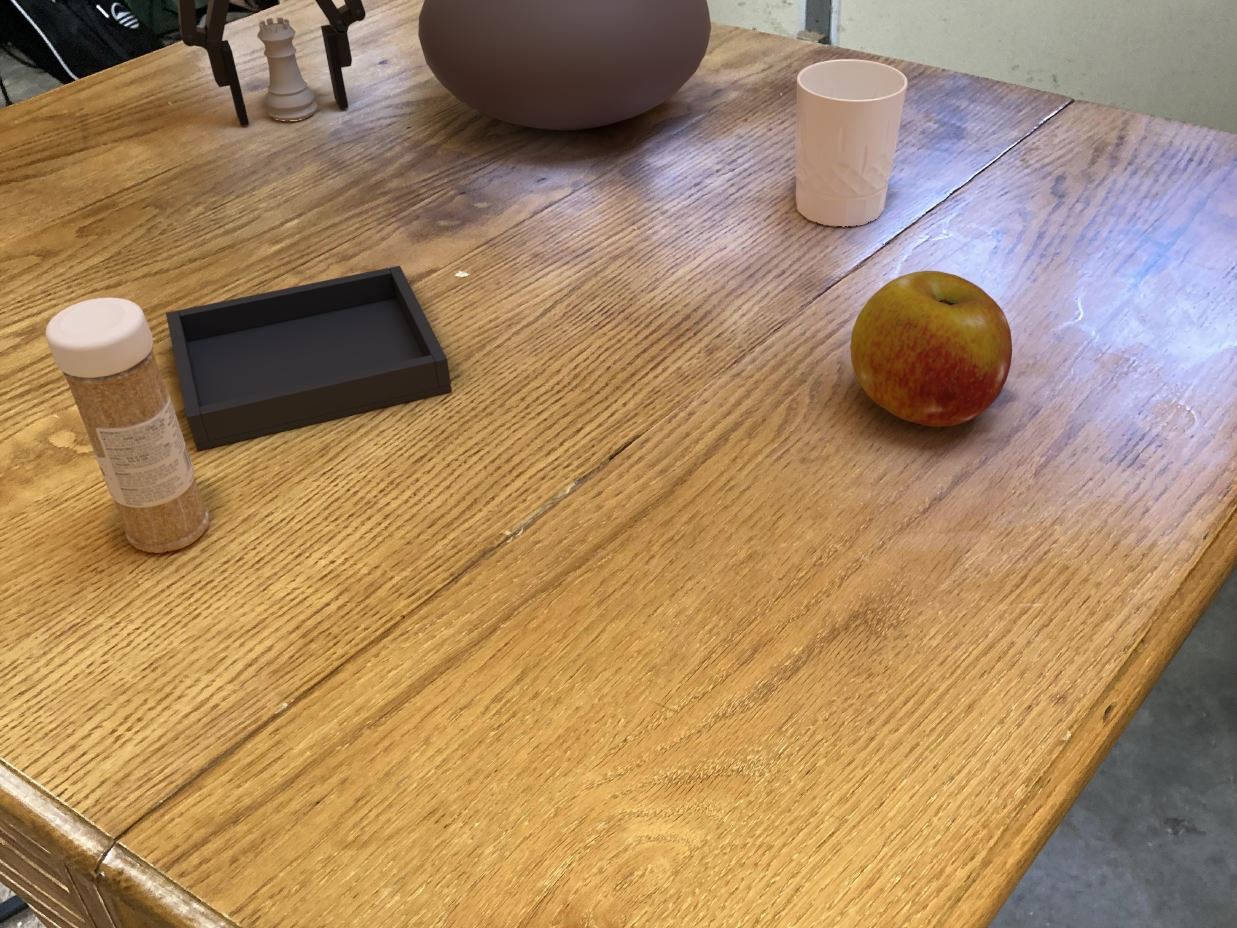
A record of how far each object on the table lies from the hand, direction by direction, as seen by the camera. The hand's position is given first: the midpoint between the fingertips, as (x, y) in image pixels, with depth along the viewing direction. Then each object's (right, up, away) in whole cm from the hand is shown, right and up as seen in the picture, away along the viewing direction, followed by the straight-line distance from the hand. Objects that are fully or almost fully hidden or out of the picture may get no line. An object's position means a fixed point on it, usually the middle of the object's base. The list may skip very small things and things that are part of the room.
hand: (292, 111), depth 109 cm
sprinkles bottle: (+5, -38, -43) cm, 57 cm away
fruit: (+48, -30, -35) cm, 67 cm away
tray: (+10, -27, -31) cm, 42 cm away
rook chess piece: (0, 0, 0) cm, 0 cm away
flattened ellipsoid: (+25, -1, -1) cm, 25 cm away
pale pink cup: (+47, -13, -15) cm, 51 cm away
